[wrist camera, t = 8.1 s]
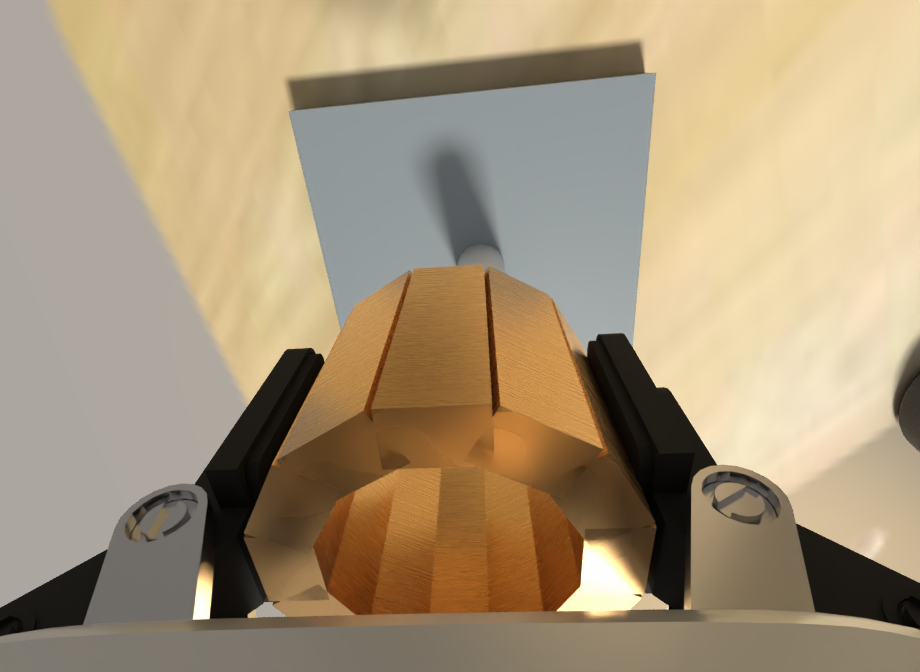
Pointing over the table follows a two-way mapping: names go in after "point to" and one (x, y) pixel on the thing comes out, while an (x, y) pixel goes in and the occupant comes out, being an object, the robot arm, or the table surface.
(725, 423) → the table surface
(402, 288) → the ring
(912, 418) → the smart speaker
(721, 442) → the table surface
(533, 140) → the peg stand
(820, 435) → the table surface
